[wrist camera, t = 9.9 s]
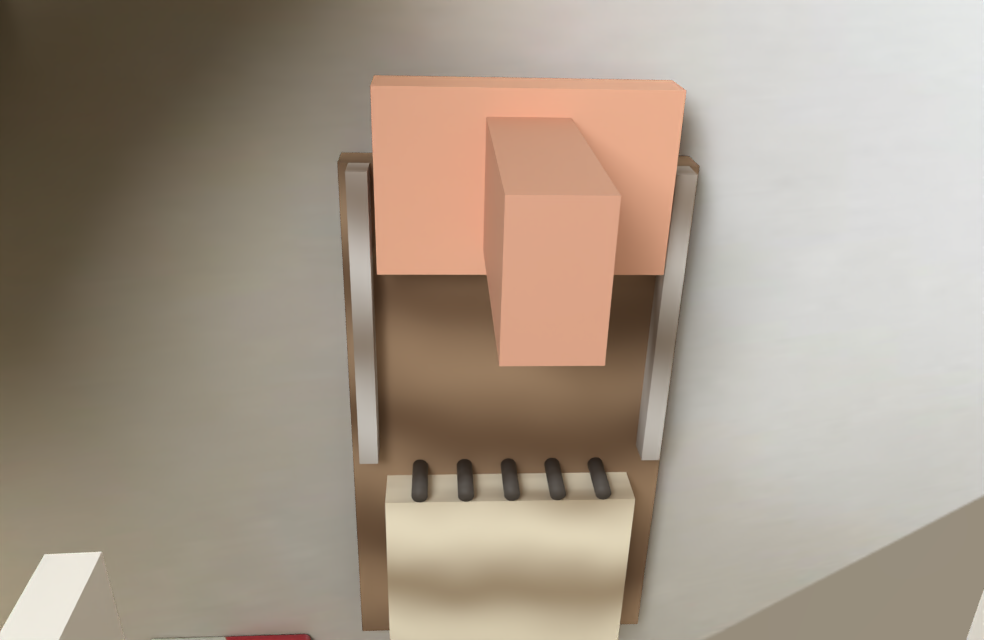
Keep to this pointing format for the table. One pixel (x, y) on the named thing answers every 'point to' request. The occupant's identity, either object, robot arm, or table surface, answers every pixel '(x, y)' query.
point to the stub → (527, 196)
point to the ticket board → (500, 447)
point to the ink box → (249, 637)
